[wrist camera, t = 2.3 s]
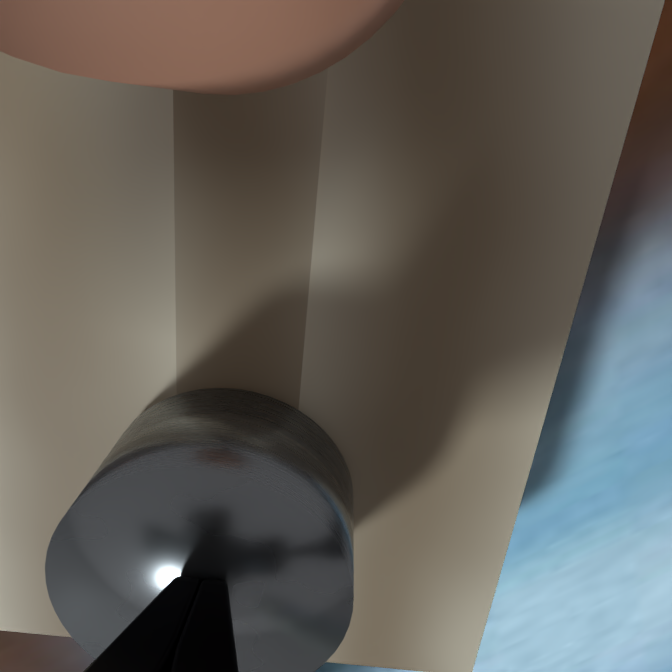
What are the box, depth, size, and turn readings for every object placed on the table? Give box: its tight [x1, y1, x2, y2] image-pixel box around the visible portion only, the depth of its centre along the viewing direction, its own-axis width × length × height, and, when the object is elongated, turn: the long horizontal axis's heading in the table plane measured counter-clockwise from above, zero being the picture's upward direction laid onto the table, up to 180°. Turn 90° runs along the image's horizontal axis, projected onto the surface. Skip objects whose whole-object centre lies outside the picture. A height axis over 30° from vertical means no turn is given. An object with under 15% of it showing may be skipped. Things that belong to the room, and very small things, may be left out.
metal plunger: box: [45, 388, 354, 672], centre depth 12 cm, size 5×5×6 cm
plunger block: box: [0, 0, 665, 672], centre depth 11 cm, size 12×20×4 cm, turn 174°
